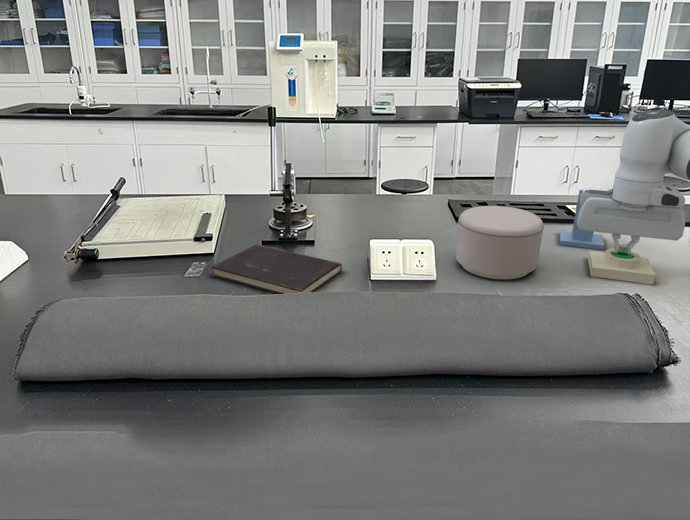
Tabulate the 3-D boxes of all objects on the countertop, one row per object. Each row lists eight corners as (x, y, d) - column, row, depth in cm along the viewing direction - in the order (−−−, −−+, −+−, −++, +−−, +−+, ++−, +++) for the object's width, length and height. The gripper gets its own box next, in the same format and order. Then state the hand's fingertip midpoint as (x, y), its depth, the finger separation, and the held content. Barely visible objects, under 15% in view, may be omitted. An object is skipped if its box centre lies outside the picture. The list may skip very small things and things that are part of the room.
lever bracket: (601, 239, 136) (610, 190, 131) (603, 249, 129) (614, 199, 124) (559, 234, 139) (567, 186, 134) (559, 244, 132) (568, 195, 127)
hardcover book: (301, 300, 104) (300, 290, 103) (212, 276, 114) (211, 266, 113) (342, 271, 116) (342, 262, 116) (258, 252, 127) (258, 243, 126)
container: (535, 287, 109) (543, 234, 105) (448, 275, 115) (452, 223, 110) (538, 256, 125) (545, 208, 120) (461, 246, 131) (465, 200, 126)
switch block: (645, 266, 120) (649, 250, 118) (653, 284, 111) (657, 266, 109) (587, 259, 123) (591, 243, 122) (590, 276, 115) (594, 259, 113)
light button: (629, 258, 117) (631, 251, 117) (632, 265, 114) (634, 258, 113) (610, 256, 118) (611, 249, 118) (611, 263, 115) (613, 255, 114)
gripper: (582, 190, 111) (571, 252, 116) (694, 200, 104) (677, 265, 110) (580, 183, 116) (570, 242, 121) (687, 192, 110) (671, 254, 115)
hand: (621, 253), depth 115 cm, fingers closed, pressing on light button
